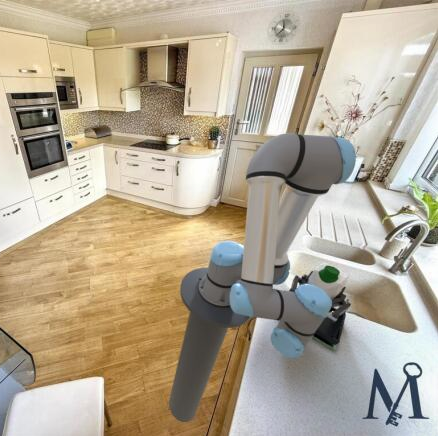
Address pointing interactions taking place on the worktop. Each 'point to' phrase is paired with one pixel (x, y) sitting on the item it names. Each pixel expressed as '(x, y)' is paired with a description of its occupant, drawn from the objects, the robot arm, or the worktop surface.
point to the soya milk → (328, 279)
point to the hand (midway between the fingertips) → (326, 281)
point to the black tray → (330, 331)
